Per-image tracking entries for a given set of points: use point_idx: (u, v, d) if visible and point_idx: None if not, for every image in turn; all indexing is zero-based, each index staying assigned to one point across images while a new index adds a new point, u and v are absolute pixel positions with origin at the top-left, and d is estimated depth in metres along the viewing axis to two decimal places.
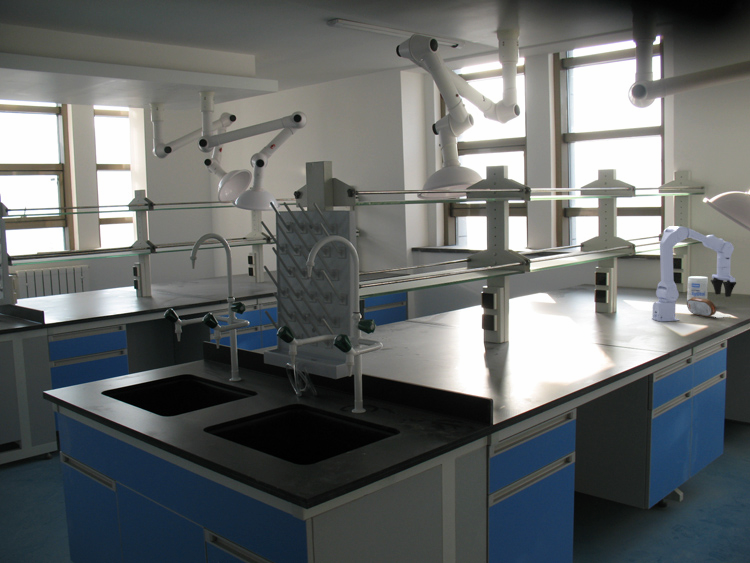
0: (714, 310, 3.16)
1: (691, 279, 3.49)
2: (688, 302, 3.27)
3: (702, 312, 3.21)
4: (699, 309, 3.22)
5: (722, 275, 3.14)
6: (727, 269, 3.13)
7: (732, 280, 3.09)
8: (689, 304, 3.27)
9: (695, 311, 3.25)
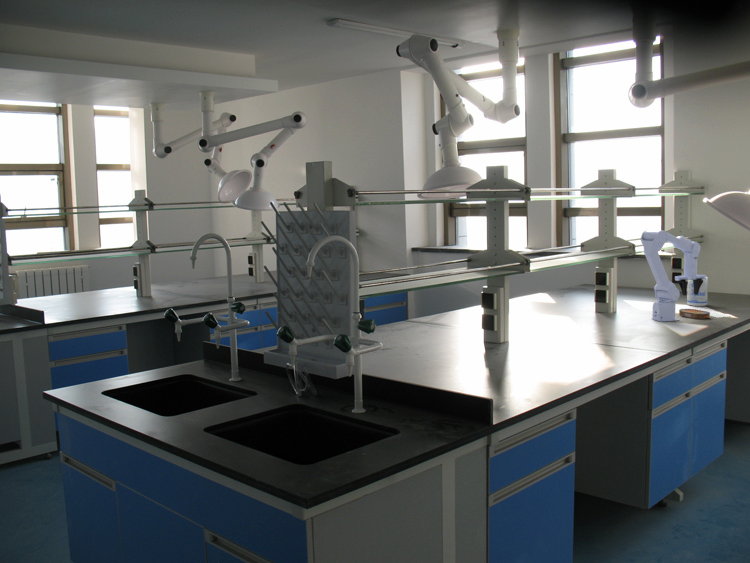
0: (708, 315, 3.14)
1: None
2: None
3: None
4: None
5: (684, 274, 3.21)
6: (685, 268, 3.19)
7: (675, 279, 3.19)
8: None
9: None
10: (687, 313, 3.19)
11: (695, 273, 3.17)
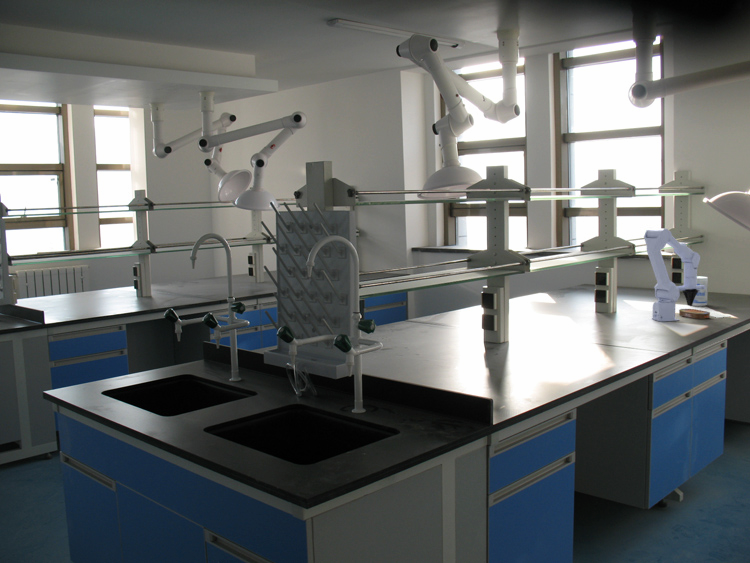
0: (708, 315, 3.14)
1: None
2: None
3: None
4: None
5: None
6: (684, 279, 3.20)
7: None
8: None
9: None
10: (687, 313, 3.19)
11: (695, 283, 3.18)
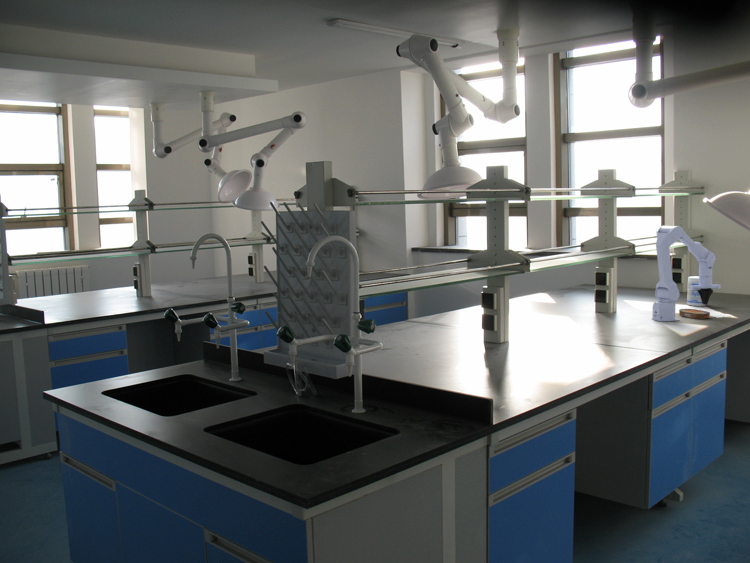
0: (708, 315, 3.14)
1: (691, 279, 3.49)
2: None
3: None
4: None
5: None
6: (700, 278, 3.20)
7: (690, 288, 3.21)
8: None
9: None
10: (687, 313, 3.19)
11: (710, 283, 3.19)
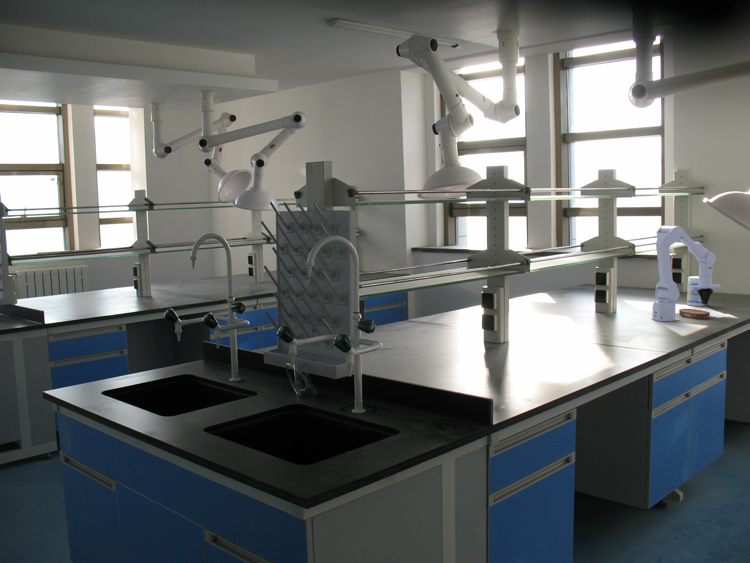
0: (708, 315, 3.14)
1: (691, 279, 3.49)
2: None
3: None
4: None
5: None
6: (699, 278, 3.20)
7: (690, 288, 3.21)
8: None
9: None
10: (687, 313, 3.19)
11: (710, 283, 3.19)
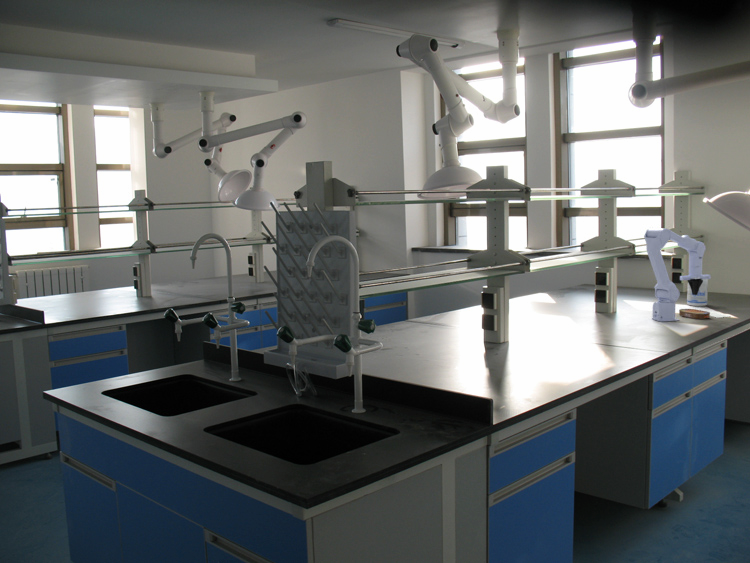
0: (708, 315, 3.14)
1: None
2: None
3: None
4: None
5: None
6: (689, 268, 3.19)
7: (680, 278, 3.20)
8: None
9: None
10: (687, 313, 3.19)
11: (700, 273, 3.17)
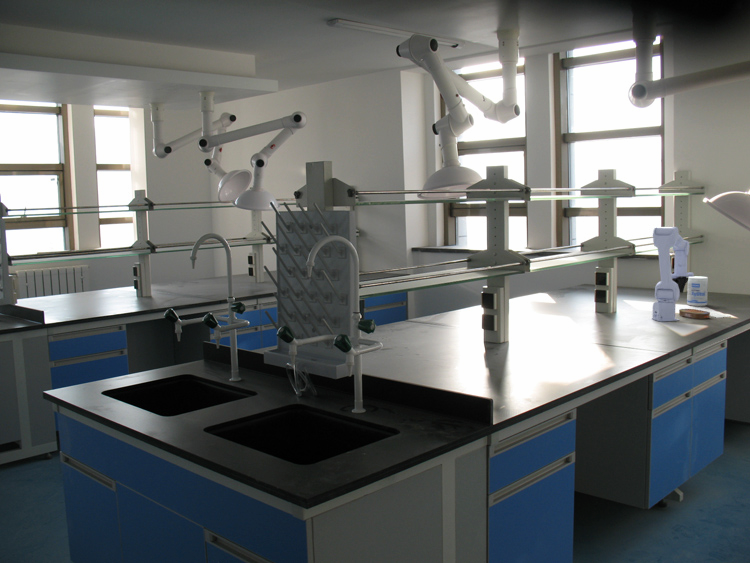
0: (708, 315, 3.14)
1: (691, 279, 3.49)
2: None
3: None
4: None
5: (674, 272, 3.30)
6: (676, 267, 3.27)
7: None
8: None
9: None
10: (687, 313, 3.19)
11: (686, 271, 3.26)
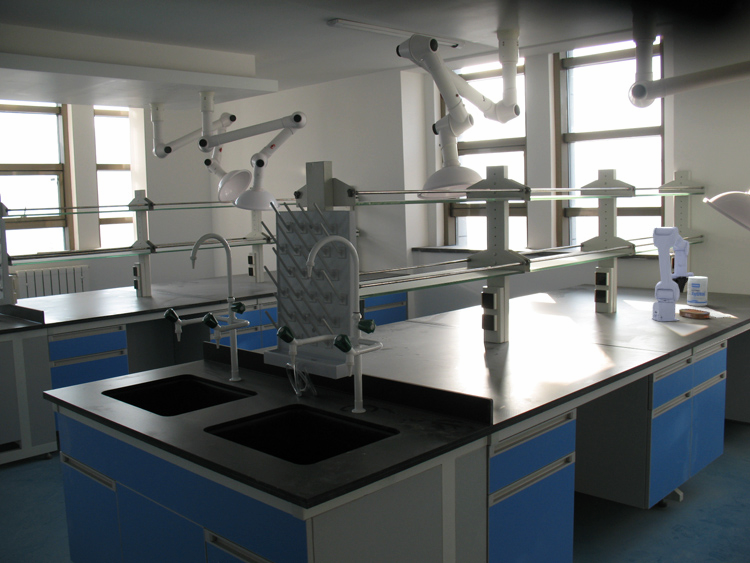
0: (708, 315, 3.14)
1: (691, 279, 3.49)
2: None
3: None
4: None
5: (674, 272, 3.30)
6: (676, 267, 3.27)
7: None
8: None
9: None
10: (687, 313, 3.19)
11: (686, 271, 3.26)
